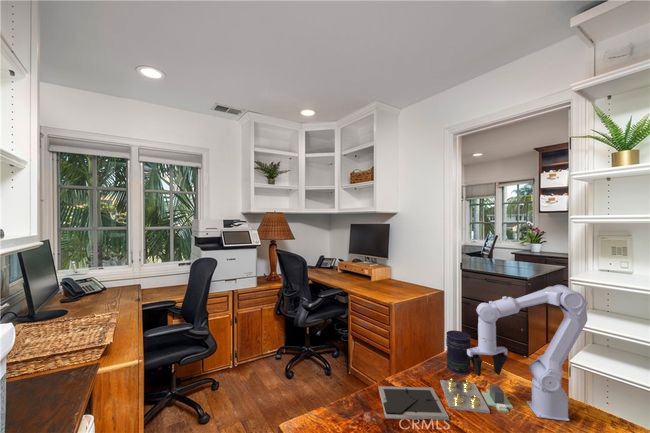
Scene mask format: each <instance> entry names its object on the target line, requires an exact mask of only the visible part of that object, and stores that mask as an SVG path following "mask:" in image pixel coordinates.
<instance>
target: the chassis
mask: <svg viewBox="0 0 650 433" xmlns="http://www.w3.org/2000/svg"><path fill="white" fill-rule="evenodd" d="M439 382H440V386H441V388H442V392H443V394H444V398H445V400H446V402H447V405H448V409H449V410H451V409H452V410H458V411H466V412H475V413H480V414H481V413H483V414H491V411H490V408H489V406H488V404H487V403H486V401H485V399H484V397H483V395H482V394H481V392H480V391H479V388H478V387H477V385H476V383H473V382H470V381H469V379H466V380H463V381H456V380H454V378H453V377H451V378H450V379H448V380H444V379H440V380H439Z"/></svg>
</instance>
